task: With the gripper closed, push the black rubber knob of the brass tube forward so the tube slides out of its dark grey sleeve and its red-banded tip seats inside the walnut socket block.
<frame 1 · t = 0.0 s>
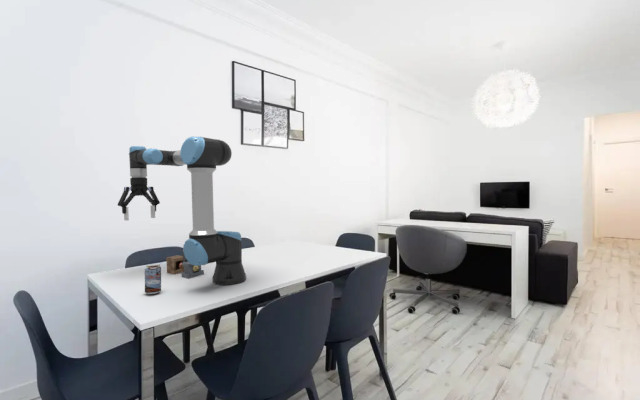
hand: (140, 219, 168), 28 cm above the table, fingers open, 13 cm apart
tube: (188, 260, 165), point 7 cm above the table, slide at 0.0 cm
socket block: (176, 272, 171), on the table
sleeve: (192, 275, 164), on the table
beverage can: (153, 293, 137), on the table
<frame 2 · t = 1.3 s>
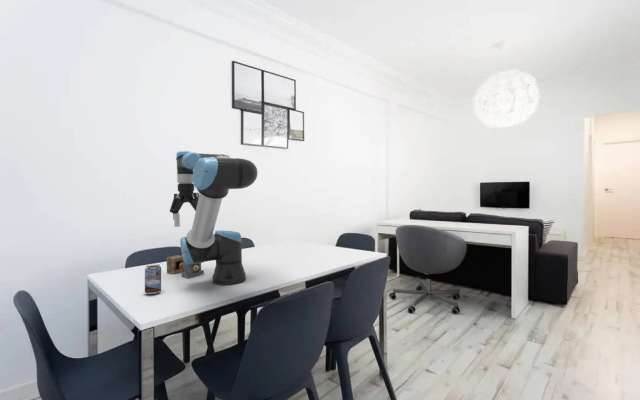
hand: (187, 226, 162), 24 cm above the table, fingers open, 13 cm apart
nothing on the table moved.
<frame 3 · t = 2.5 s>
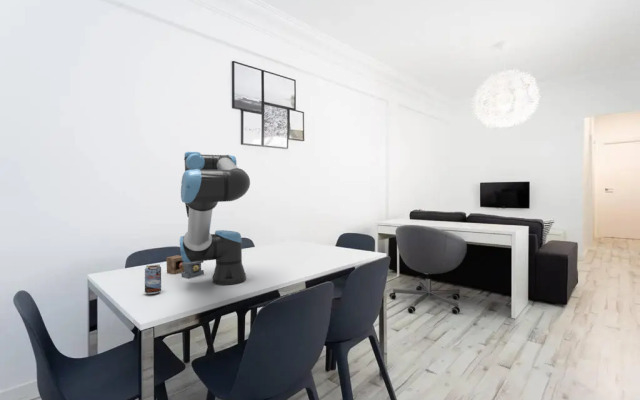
hand: (194, 232, 162), 22 cm above the table, fingers closed
nothing on the table moved.
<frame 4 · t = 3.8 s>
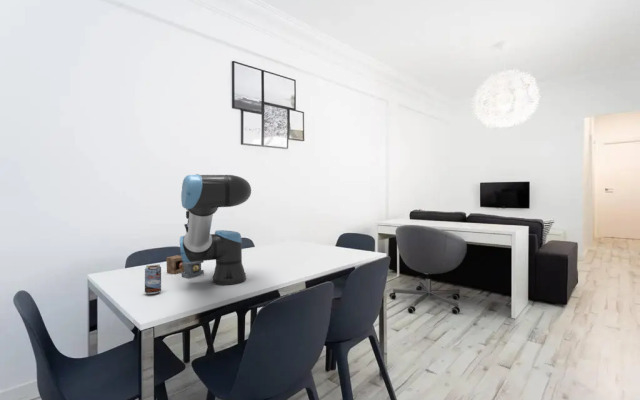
hand: (195, 258, 162), 9 cm above the table, fingers closed
nothing on the table moved.
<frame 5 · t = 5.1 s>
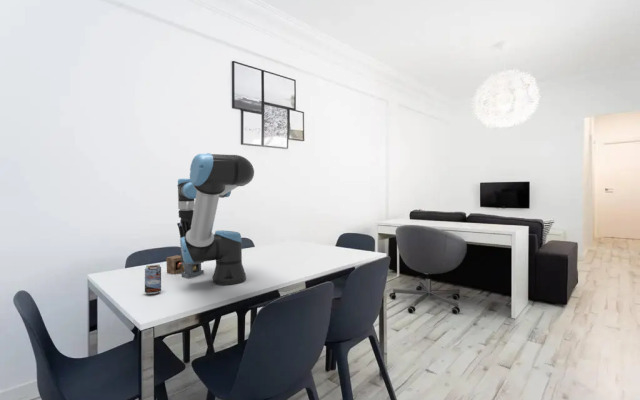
hand: (188, 256, 165), 9 cm above the table, fingers closed
tube: (187, 260, 166), point 7 cm above the table, slide at 1.2 cm, touching gripper
everything else where it was.
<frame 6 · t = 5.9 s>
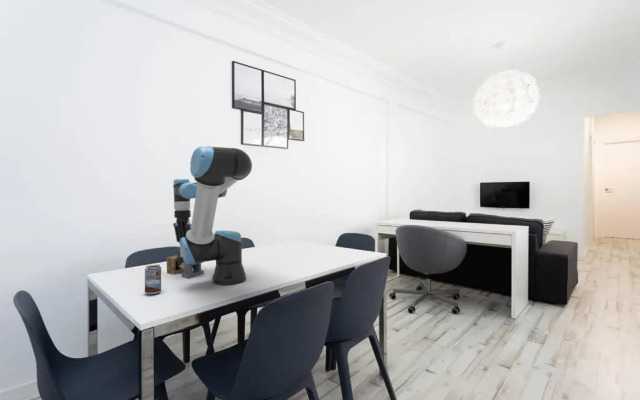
hand: (183, 256, 167), 9 cm above the table, fingers closed
tube: (183, 259, 167), point 7 cm above the table, slide at 4.4 cm, touching gripper
everything else where it was.
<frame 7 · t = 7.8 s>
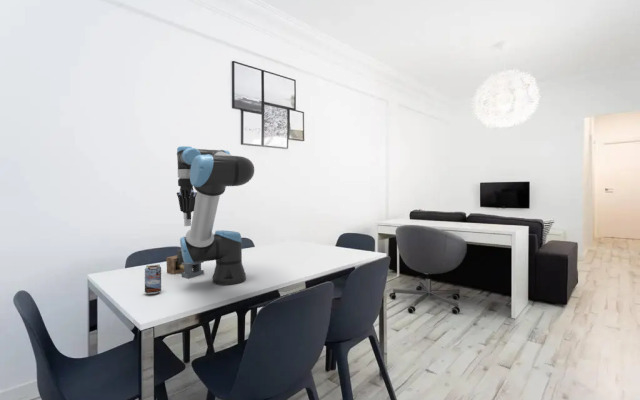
hand: (187, 225, 164), 25 cm above the table, fingers closed
tube: (183, 259, 167), point 7 cm above the table, slide at 4.5 cm
everything else where it was.
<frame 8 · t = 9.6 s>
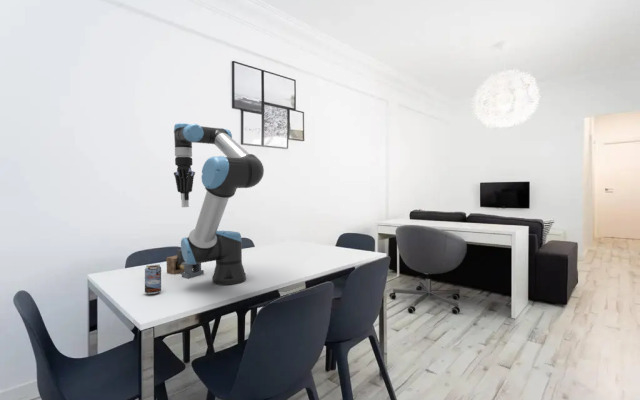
hand: (185, 207, 157), 34 cm above the table, fingers closed
nothing on the table moved.
at the end: tube slide at 4.5 cm; the gripper is holding nothing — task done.
